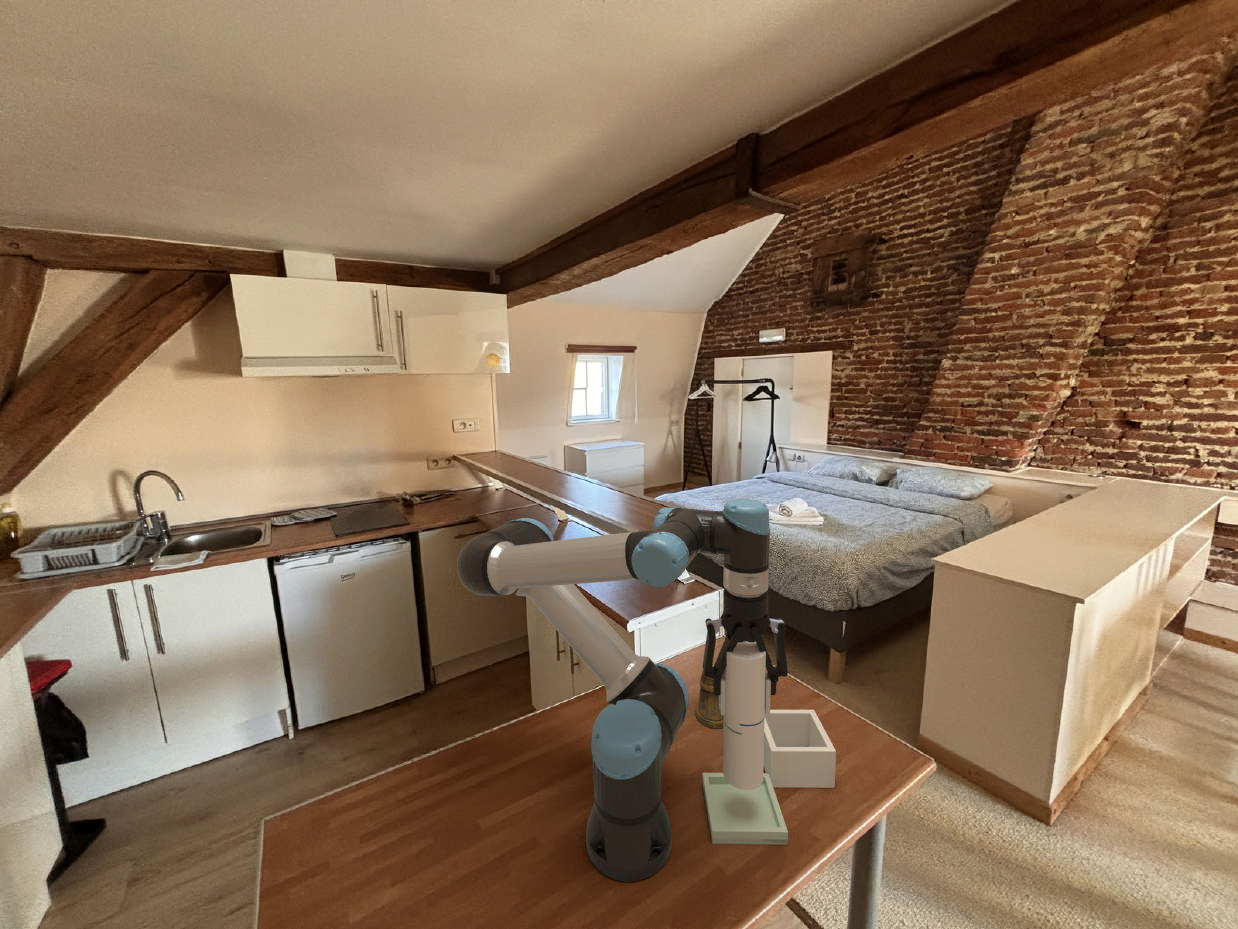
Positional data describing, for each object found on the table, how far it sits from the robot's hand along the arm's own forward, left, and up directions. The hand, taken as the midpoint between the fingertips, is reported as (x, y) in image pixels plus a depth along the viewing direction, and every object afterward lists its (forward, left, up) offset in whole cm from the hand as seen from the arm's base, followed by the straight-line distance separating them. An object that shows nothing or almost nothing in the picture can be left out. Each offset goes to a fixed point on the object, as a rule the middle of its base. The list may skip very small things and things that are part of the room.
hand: (743, 709), depth 88 cm
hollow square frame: (+13, +12, -21) cm, 27 cm away
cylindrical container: (0, 0, -13) cm, 13 cm away
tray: (0, 0, -21) cm, 21 cm away
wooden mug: (+1, +28, -21) cm, 35 cm away
